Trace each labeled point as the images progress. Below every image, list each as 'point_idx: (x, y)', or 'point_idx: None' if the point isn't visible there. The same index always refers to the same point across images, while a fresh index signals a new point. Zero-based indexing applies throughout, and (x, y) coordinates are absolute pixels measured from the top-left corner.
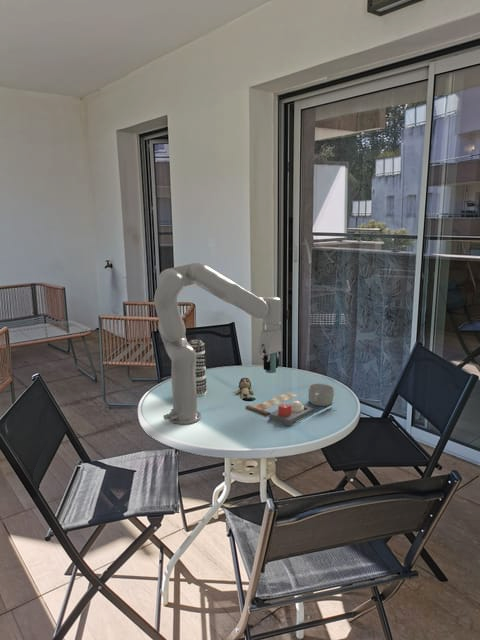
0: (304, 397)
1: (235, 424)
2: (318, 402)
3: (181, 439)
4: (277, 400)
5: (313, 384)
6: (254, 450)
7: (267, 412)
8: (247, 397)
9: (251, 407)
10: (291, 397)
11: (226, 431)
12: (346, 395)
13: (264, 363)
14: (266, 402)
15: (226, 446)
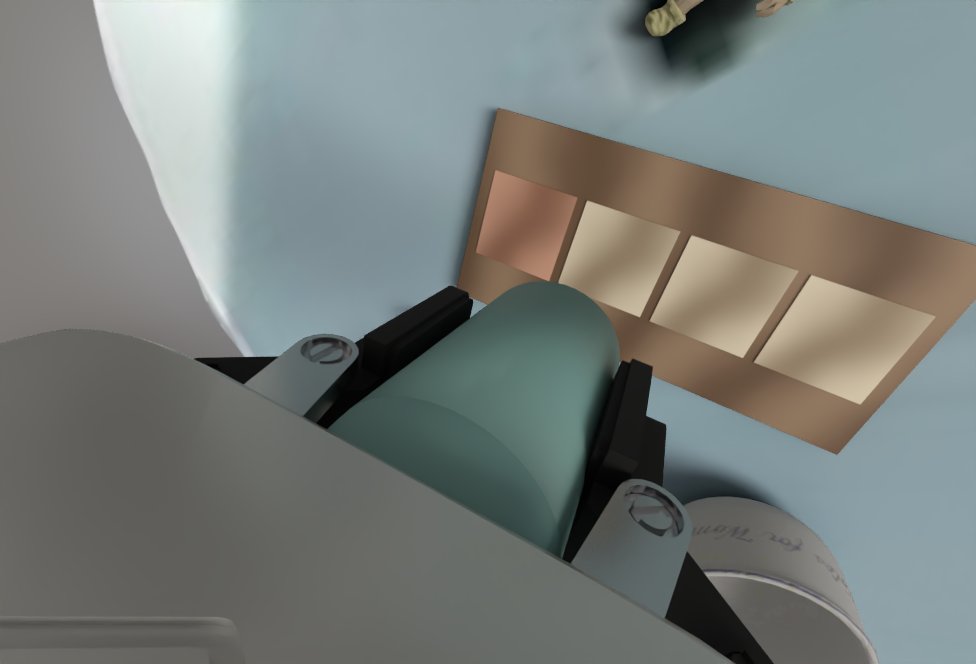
0: (869, 444)
1: (314, 177)
2: None
3: (117, 34)
4: (679, 288)
5: (828, 609)
6: (230, 336)
7: (468, 288)
8: (646, 19)
9: (490, 162)
10: (782, 371)
11: (252, 176)
12: None
13: (362, 347)
14: (608, 225)
15: (193, 239)
